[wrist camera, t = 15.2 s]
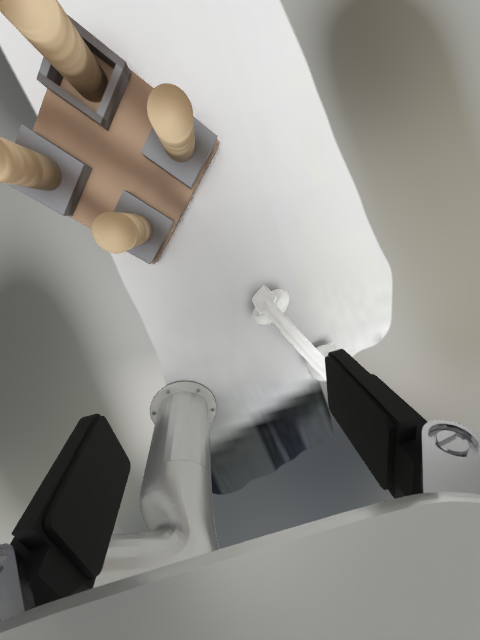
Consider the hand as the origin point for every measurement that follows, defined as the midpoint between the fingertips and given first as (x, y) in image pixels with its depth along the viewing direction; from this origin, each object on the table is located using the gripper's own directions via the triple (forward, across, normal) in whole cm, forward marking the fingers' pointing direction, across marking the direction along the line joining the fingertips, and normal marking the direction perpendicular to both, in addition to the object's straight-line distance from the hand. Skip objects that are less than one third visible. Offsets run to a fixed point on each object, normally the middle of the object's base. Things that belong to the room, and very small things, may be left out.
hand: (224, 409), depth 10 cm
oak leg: (+29, +7, -23) cm, 38 cm away
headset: (+33, -12, +13) cm, 37 cm away
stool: (+32, +7, -16) cm, 37 cm away
